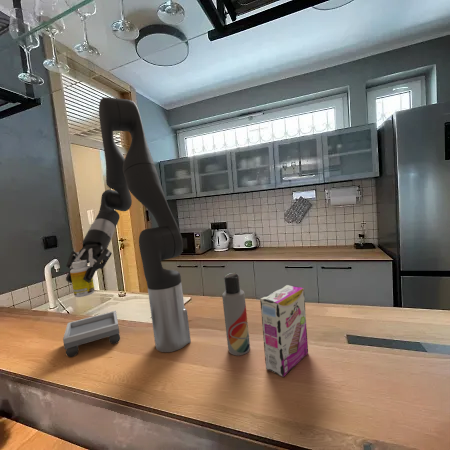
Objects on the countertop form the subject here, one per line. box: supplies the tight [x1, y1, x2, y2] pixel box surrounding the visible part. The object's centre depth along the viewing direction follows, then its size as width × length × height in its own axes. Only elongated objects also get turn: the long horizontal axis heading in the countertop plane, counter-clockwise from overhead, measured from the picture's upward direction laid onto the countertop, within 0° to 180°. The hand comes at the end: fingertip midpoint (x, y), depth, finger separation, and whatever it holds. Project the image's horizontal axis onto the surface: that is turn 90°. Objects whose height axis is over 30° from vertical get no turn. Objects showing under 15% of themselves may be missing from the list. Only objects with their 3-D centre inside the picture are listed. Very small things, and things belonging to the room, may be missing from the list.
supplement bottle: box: [69, 260, 95, 298], centre depth 78 cm, size 6×6×10 cm
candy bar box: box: [259, 284, 309, 378], centre depth 59 cm, size 11×5×16 cm, turn 135°
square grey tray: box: [62, 310, 121, 358], centre depth 79 cm, size 14×12×6 cm
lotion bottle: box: [221, 272, 251, 356], centre depth 66 cm, size 6×6×20 cm
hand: (77, 281), depth 76 cm, fingers closed on supplement bottle, 5 cm apart
